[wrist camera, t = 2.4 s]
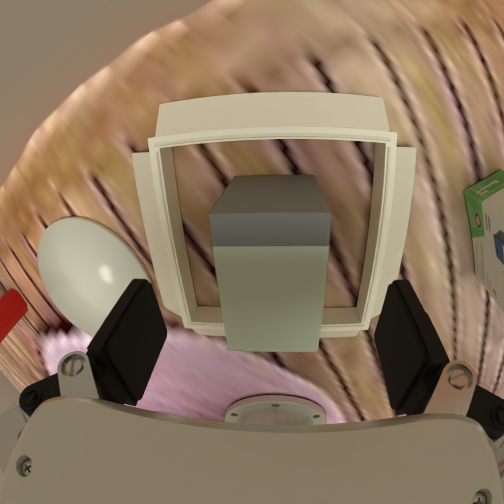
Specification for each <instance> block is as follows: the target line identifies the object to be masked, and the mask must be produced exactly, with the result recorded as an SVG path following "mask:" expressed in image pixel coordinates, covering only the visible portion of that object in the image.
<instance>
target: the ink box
mask: <svg viewBox="0 0 504 504" xmlns="http://www.w3.org/2000/svg"><path fill="white" fill-rule="evenodd" d="M464 196H465V201H466V206H467V211H468V217H469V221H470V227H471V235H472V242H473V250H474V259H475V271H476V273H475V276H476V277H477V278H478V279H479V281H480V282H481V283H482V284H483V286H484V287H485V288H486V289H487V291H488V292H489V293H490V295H491V296H492V297H493V299H494V300H495V301H496V303H497V304H498V305H499V307H500V308H501V310H502V311H503V312H504V171H503V170H500V171H498V172H496V173H494V174H493V175H491V176H489V177H487V178H485V179H484V180H482V181H480V182H478V183H476V184H474V185H473V186H471V187H469V188H467V189H466V190H465V191H464Z"/></svg>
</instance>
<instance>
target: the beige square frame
mask: <svg viewBox="0 0 504 504" xmlns="http://www.w3.org/2000/svg"><path fill="white" fill-rule="evenodd" d="M258 139H332V140H353V141H367V142H375V157H374V176H373V190H372V202H371V213H370V222H369V231H368V239H367V246H366V253H365V260H364V267H363V273H362V279H361V285H360V290H359V296H358V301H357V306H356V307H345V308H323V315H322V323H321V330H320V337H319V338H326V337H352V336H356V335H357V334H358V333H359V332H360V331H361V330H368V328H369V324H370V320H371V318H373V317H375V316H377V315H379V314H380V313H381V310H382V306H383V303H384V299H385V295H386V292H387V288H388V285H389V284H392V282H393V280H397V278H398V273H399V269H400V264H401V260H402V255H403V250H404V245H405V239H406V234H407V228H408V222H409V215H410V208H411V201H412V193H413V184H414V174H415V162H416V148H415V147H397V132H393V131H389V126H388V120H387V115H386V111H385V106H384V101H383V98H381V97H373V96H364V95H353V94H340V93H322V92H264V93H245V94H232V95H221V96H212V97H203V98H196V99H189V100H182V101H176V102H170V103H164V104H160V106H159V113H158V119H157V126H156V134H155V137H151V138H148V145H149V152H138V153H132V160H133V167H134V173H135V180H136V186H137V191H138V197H139V203H140V208H141V213H142V218H143V223H144V228H145V232H146V237H147V242H148V246H149V250H150V255H151V259H152V263H153V267H154V271H155V275H156V279H157V283H158V286H159V290H160V294H161V297H162V301H163V304H164V307H165V308H167V309H169V310H170V311H172V312H174V313H175V314H177V315H179V316H181V317H182V320H183V324H184V328H192V329H193V330H194V331H195V332H196V333H197V334H198V335H211V336H225V330H224V323H223V317H222V311H221V307H205V306H197V302H196V297H195V292H194V287H193V282H192V277H191V271H190V266H189V261H188V255H187V249H186V243H185V238H184V232H183V225H182V219H181V212H180V206H179V199H178V192H177V185H176V177H175V169H174V161H173V152H172V146H180V145H189V144H199V143H210V142H222V141H237V140H258Z"/></svg>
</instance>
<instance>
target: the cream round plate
mask: <svg viewBox="0 0 504 504" xmlns="http://www.w3.org/2000/svg"><path fill="white" fill-rule="evenodd" d="M37 260H38V268H39V272H40V276H41V279H42V282H43V284H44V287H45V289H46V291H47V293H48V294H49V296H50V298H51V299H52V301H53V302H54V304H55V305H56V307H57V308H58V309H59V310H60V312H61V313H62V314H63V315H64V316H65V317H66V318H67V319H68V320H69V321H70V322H71V323H73V324H74V325H75V326H76V327H78V328H79V329H81V330H82V331H84V332H85V333H87V334H89V335H90V336H92V337H94V336H95V334H96V333H97V331H98V330H99V328H100V326H101V325H102V323H103V322H104V320H105V319H106V317H107V316H108V314H109V313H110V311H111V310H112V308H113V307H114V305H115V304H116V302H117V301H118V299H119V298H120V296H121V295H122V293H123V292H124V291H125V289H126V288H127V286H128V285H129V283H130V282H131V281H132V279H134V278H136V279H147V280H148V282H149V283H151V284H152V286H153V289H154V292H155V295H156V291H155V287H154V284H153V282H152V279H151V277H150V275H149V273H148V271H147V269H146V267H145V266H144V264H143V262H142V261H141V260H140V258H139V257H138V255H137V254H136V253H135V252H134V250H133V249H132V248H131V247H130V246H129V245H128V244H127V243H126V242H125V241H124V240H123V239H122V238H121V237H120V236H119V235H117V234H116V233H115V232H113V231H112V230H111V229H109V228H108V227H106V226H104V225H103V224H101V223H98V222H96V221H94V220H91V219H88V218H85V217H78V216H70V217H65V218H62V219H59V220H57V221H56V222H54V223H53V224H51V225H50V226H49V227H48V228H47V229H46V230H45V231H44V233H43V234H42V236H41V238H40V241H39V245H38V252H37ZM156 298H157V295H156Z"/></svg>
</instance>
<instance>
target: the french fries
mask: <svg viewBox="0 0 504 504" xmlns="http://www.w3.org/2000/svg"><path fill="white" fill-rule="evenodd" d="M27 311H28V310H27V304H26V302H25V301H24V299H23V298H22V297H21V295H20V294H19V292H18V291H16V290H14V289H10V290H9V291H8V292H7V293H6V294H5V295H4V296H2V297H1V298H0V343H1V342H2V340H3V339H4V338H5V337H6V335H7V334H8V333H9V332H10V331H11V329H12V328H13V327H14V326H15V325H16V323H17V322H18V321H19V320H20V319H21V318H22V316H23V315H24V314H25V313H26V312H27Z"/></svg>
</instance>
